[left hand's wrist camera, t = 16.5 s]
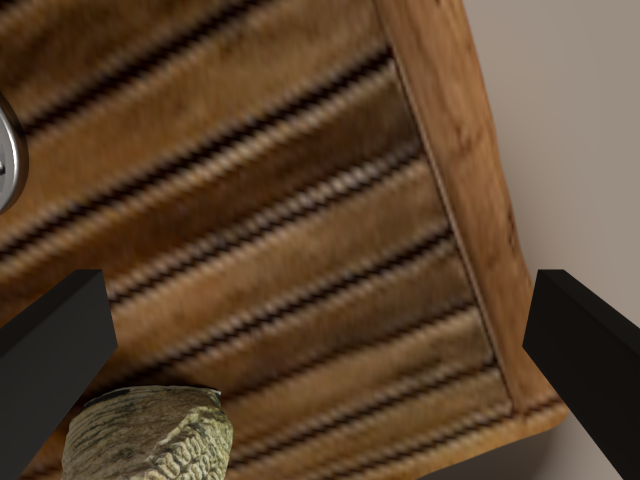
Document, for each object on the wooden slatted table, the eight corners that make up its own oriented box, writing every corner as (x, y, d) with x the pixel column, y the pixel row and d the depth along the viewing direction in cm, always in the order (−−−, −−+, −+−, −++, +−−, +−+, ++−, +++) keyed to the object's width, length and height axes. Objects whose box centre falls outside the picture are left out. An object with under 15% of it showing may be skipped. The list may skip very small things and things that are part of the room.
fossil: (252, 417, 47) (223, 559, 33) (108, 457, 49) (24, 606, 35) (220, 355, 44) (173, 483, 30) (68, 401, 46) (-41, 540, 32)
